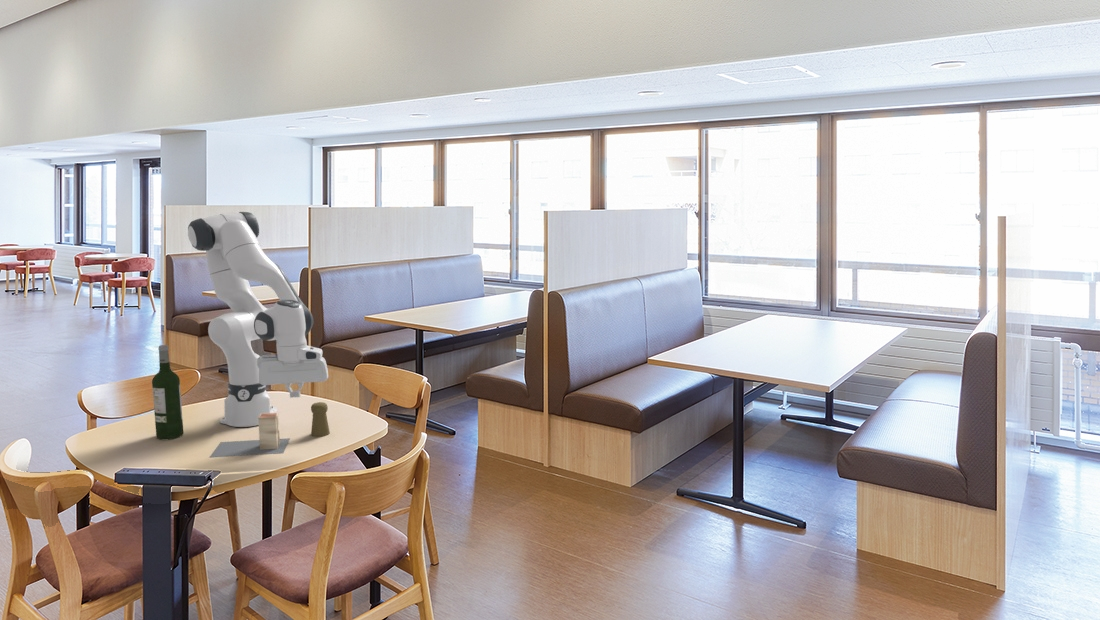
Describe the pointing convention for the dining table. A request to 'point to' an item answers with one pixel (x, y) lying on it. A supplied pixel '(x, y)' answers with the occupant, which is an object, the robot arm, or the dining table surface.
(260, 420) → the pine block
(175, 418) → the wine bottle
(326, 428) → the cork
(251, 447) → the rubber mat
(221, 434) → the dining table surface
